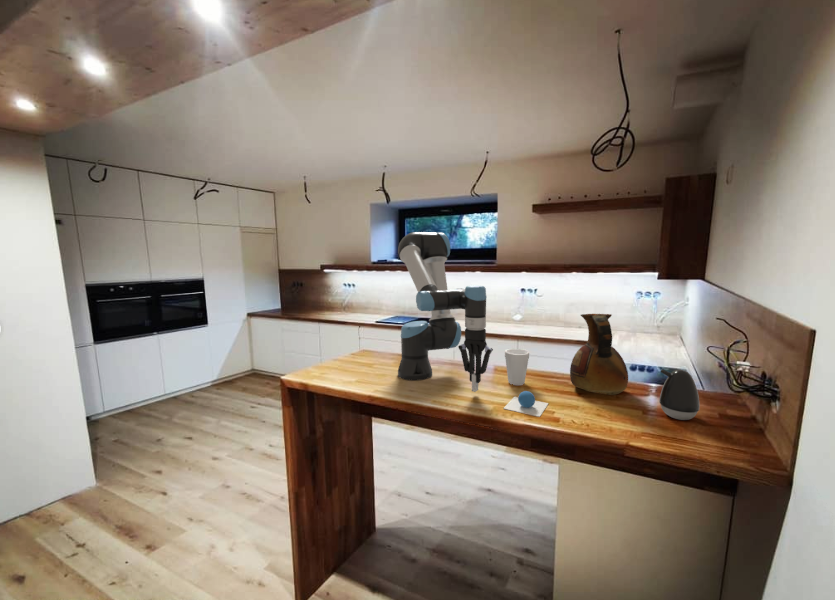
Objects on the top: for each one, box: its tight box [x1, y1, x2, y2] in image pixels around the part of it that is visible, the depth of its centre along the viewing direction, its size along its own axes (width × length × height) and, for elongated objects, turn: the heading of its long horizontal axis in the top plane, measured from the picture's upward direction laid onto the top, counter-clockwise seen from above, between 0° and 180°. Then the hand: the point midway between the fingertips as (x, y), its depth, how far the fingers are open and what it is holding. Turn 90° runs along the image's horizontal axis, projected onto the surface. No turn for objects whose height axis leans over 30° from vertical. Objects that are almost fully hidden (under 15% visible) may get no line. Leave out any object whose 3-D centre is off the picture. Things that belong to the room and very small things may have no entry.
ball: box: [517, 390, 536, 408], centre depth 120 cm, size 6×6×6 cm
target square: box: [503, 396, 549, 418], centre depth 121 cm, size 12×12×1 cm
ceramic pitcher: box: [569, 313, 629, 396], centre depth 133 cm, size 20×20×30 cm
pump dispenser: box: [658, 369, 701, 421], centre depth 111 cm, size 10×10×15 cm
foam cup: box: [504, 348, 530, 386], centre depth 143 cm, size 10×9×13 cm
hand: (475, 390), depth 131 cm, fingers closed
